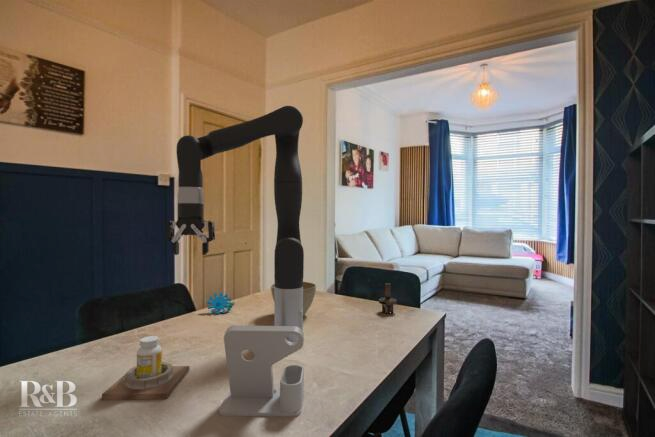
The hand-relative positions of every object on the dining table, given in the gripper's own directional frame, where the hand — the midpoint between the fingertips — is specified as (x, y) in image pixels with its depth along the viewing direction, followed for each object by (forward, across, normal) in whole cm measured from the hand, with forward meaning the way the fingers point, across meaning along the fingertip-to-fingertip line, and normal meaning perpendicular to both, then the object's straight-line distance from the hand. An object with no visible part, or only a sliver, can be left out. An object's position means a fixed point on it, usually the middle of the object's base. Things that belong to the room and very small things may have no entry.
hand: (190, 254), depth 109 cm
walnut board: (+28, -1, -25) cm, 38 cm away
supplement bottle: (+27, -1, -25) cm, 37 cm away
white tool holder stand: (+28, +28, -34) cm, 52 cm away
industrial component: (+28, +69, +36) cm, 82 cm away
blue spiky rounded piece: (+28, 0, +37) cm, 46 cm away
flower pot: (+28, +30, +32) cm, 52 cm away
